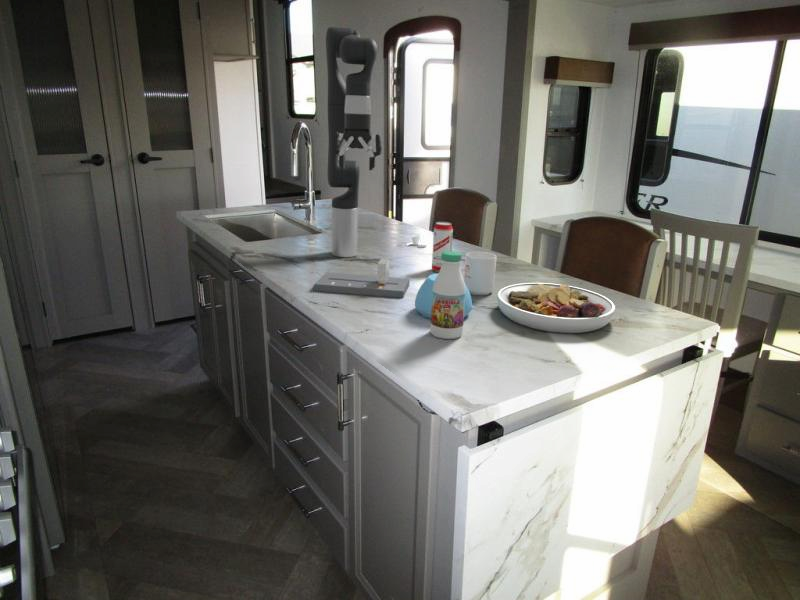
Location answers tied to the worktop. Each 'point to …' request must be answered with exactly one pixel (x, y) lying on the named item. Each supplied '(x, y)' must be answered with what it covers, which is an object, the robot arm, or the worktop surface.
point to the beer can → (441, 243)
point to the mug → (480, 272)
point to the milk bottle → (448, 298)
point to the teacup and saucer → (417, 242)
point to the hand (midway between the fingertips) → (357, 169)
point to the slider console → (361, 285)
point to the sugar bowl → (425, 298)
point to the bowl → (555, 307)
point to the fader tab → (383, 271)
